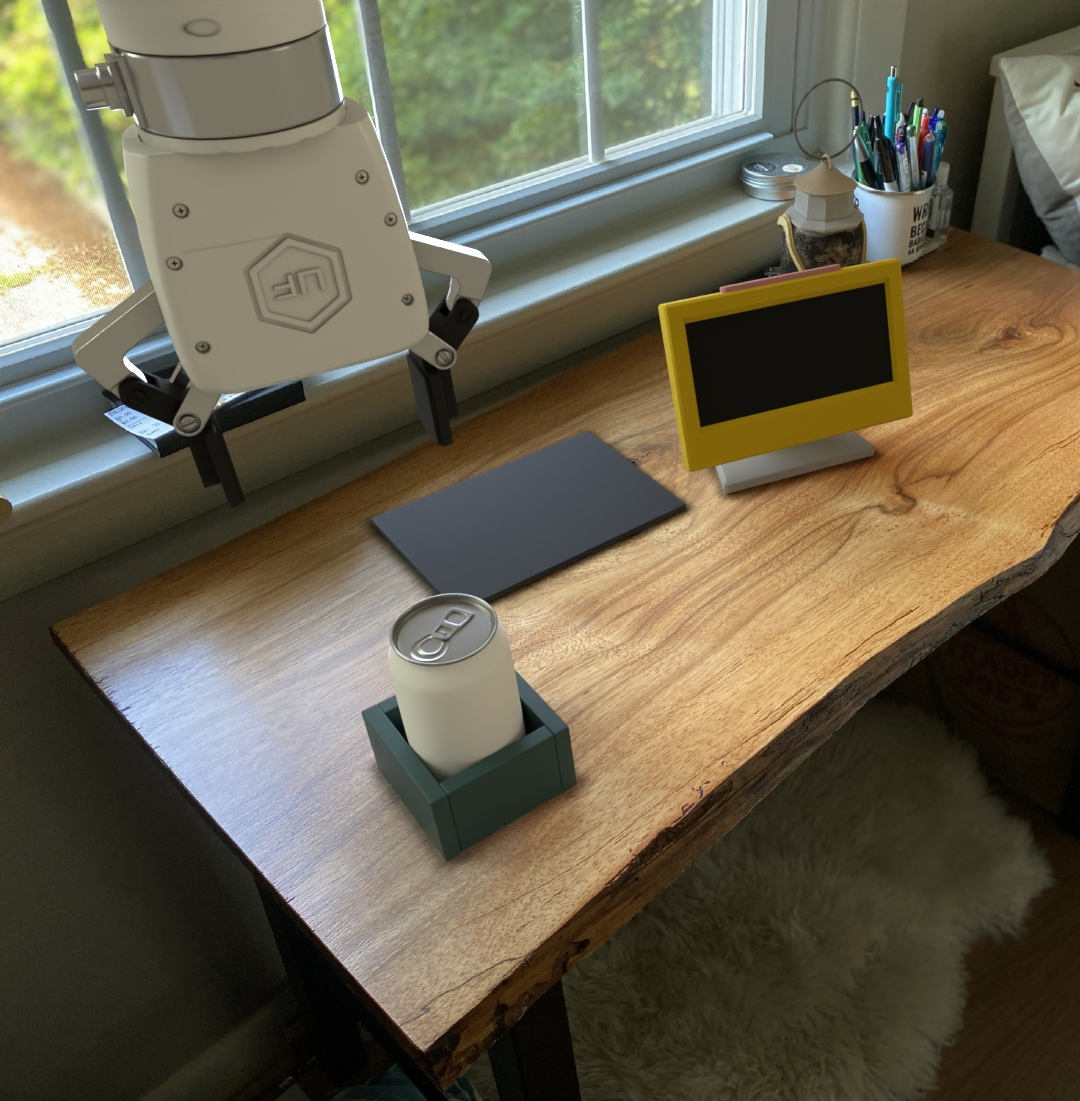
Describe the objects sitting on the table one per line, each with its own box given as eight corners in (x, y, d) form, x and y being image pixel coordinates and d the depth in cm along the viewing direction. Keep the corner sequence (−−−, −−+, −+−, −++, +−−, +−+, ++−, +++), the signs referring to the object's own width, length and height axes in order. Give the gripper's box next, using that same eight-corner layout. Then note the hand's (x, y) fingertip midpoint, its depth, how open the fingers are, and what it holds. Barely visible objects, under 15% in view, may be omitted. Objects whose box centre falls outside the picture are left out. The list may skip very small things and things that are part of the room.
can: (399, 800, 64) (355, 651, 57) (460, 723, 69) (427, 576, 62) (495, 834, 63) (462, 684, 55) (551, 753, 67) (528, 605, 60)
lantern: (836, 321, 112) (852, 60, 96) (877, 356, 106) (901, 84, 91) (759, 339, 109) (763, 72, 94) (797, 375, 103) (808, 98, 88)
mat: (458, 617, 77) (457, 611, 77) (371, 523, 86) (370, 518, 85) (686, 509, 87) (686, 503, 87) (588, 434, 95) (587, 430, 95)
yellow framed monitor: (691, 508, 87) (685, 326, 77) (655, 458, 93) (645, 282, 83) (909, 450, 93) (929, 275, 84) (864, 406, 99) (877, 238, 89)
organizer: (446, 862, 61) (430, 804, 58) (378, 768, 66) (360, 711, 63) (577, 784, 65) (569, 726, 62) (503, 702, 71) (493, 645, 67)
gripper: (-21, 152, 36) (154, 563, 46) (488, 73, 42) (539, 447, 53) (-30, 93, 41) (130, 476, 51) (426, 31, 48) (484, 380, 58)
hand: (338, 461), depth 52 cm, fingers open, 9 cm apart
